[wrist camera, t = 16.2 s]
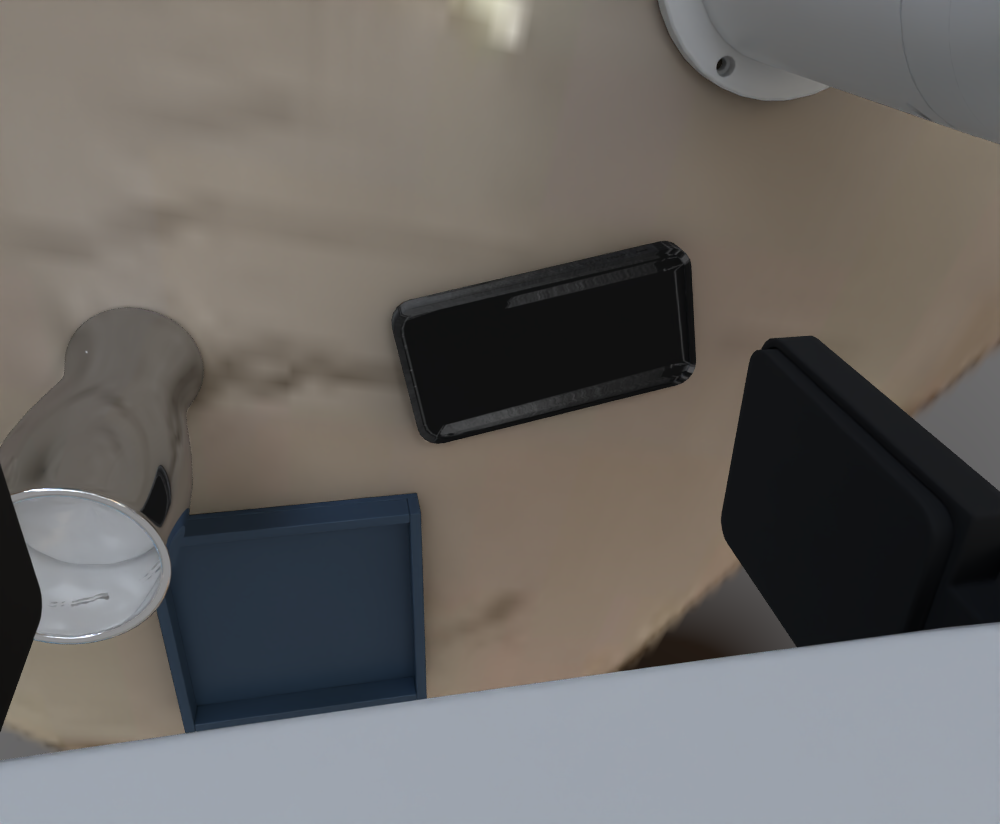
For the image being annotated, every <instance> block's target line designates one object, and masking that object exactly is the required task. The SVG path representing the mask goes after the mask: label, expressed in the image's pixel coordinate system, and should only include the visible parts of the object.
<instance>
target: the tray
mask: <svg viewBox="0 0 1000 824" xmlns="http://www.w3.org/2000/svg"><path fill="white" fill-rule="evenodd" d="M157 614H158V619H159V623H160V627H161V631H162V636H163V640H164V644H165V648H166V653H167V657H168V661H169V665H170V670H171V674H172V678H173V682H174V687H175V691H176V695H177V699H178V704H179V708H180V712H181V716H182V721H183V725H184V729H185V733H191V732H195V731H197V732H198V731H205V730H211V729H218V728H225V727H232V726H238V725H245V724H252V723H259V722H266V721H273V720H281V719H288V718H295V717H302V716H309V715H316V714H323V713H330V712H337V711H344V710H351V709H358V708H365V707H372V706H379V705H386V704H393V703H400V702H407V701H414V700H421V699H427V692H426V660H425V628H424V596H423V563H422V531H421V511H420V506H419V501H418V496H417V493H412V494H402V495H392V496H381V497H371V498H361V499H351V500H341V501H330V502H320V503H310V504H300V505H289V506H279V507H269V508H259V509H248V510H238V511H228V512H218V513H207V514H197V515H189V516H188V521H187V525H186V529H185V534H184V537H183V540H182V544H181V547H180V550H179V554H178V557H177V560H176V563H175V565H174V568H173V571H172V575H171V581H170V585H169V589H168V591H167V594H166V596H165V598H164V600H163V601H162V603H161V604H160V606H159V607H158V608H157Z"/></svg>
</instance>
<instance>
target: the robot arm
mask: <svg viewBox="0 0 1000 824" xmlns="http://www.w3.org/2000/svg"><path fill="white" fill-rule="evenodd" d="M658 3H659V8H660V12H661V14H662V17H663V19H664V22H665V24H666V27H667V30H668V32H669V35H670V37H671V39H672V40H673V42H674V43H675V45H676V46H677V48H678V49H679V51H680V52H681V54H682V55H683V57H684V58H685V60H686V61H687V62H688V63H690V64H691V65H692V66H693V67H694V68H695V69H696V70H697V71H698V72H699V73H700V74H701V75H702V76H703V77H705V78H706V79H708V80H709V81H711V82H713V83H714V84H716V85H718V86H719V87H721V88H723V89H725V90H728V91H730V92H733V93H735V94H737V95H740V96H743V97H748V98H753V99H758V100H763V101H780V100H792V99H796V98H801V97H805V96H810V95H813V94H816V93H818V92H820V91H822V90H825V89H827V88H829V87H833V88H836V89H839V90H842V91H845V92H848V93H851V94H854V95H856V96H859V97H862V98H865V99H868V100H871V101H874V102H877V103H880V104H882V105H885V106H888V107H891V108H894V109H897V110H900V111H903V112H906V113H909V114H911V115H914V116H917V117H920V118H923V119H926V120H929V121H932V122H935V123H938V124H940V125H943V126H946V127H949V128H952V129H955V130H958V131H961V132H964V133H967V134H969V135H972V136H975V137H979V138H982V139H985V140H988V141H991V142H994V143H997V144H1000V0H658ZM720 59H722V65H721V67H720V68H719V69H716V66H717V63H718V61H719V60H720ZM721 525H722V531H723V534H724V537H725V540H726V542H727V543H728V545H729V546H730V548H731V549H732V551H733V552H734V554H735V555H736V557H737V558H738V560H739V561H740V563H741V564H742V566H743V567H744V569H745V570H746V572H747V573H748V575H749V576H750V578H751V579H752V581H753V582H754V584H755V585H756V587H757V588H758V590H759V591H760V593H761V594H762V596H763V597H764V599H765V600H766V602H767V603H768V605H769V606H770V607H771V609H772V611H773V612H774V614H775V615H776V616H777V618H778V620H779V621H780V622H781V624H782V626H783V627H784V628H785V630H786V632H787V633H788V634H789V636H790V638H791V639H792V640H793V642H794V643H795V645H796V646H797V648H789V649H782V650H774V651H767V652H759V653H752V654H744V655H737V656H730V657H722V658H715V659H708V660H701V661H693V662H686V663H679V664H672V665H665V666H657V667H650V668H643V669H636V670H628V671H621V672H614V673H606V674H599V675H592V676H585V677H578V678H570V679H563V680H556V681H549V682H542V683H534V684H527V685H520V686H513V687H506V688H499V689H492V690H485V691H478V692H471V693H463V694H456V695H449V696H442V697H435V698H428V699H421V700H414V701H407V702H400V703H393V704H386V705H379V706H372V707H365V708H358V709H351V710H344V711H337V712H330V713H323V714H316V715H309V716H302V717H295V718H288V719H281V720H273V721H266V722H259V723H252V724H245V725H238V726H232V727H225V728H218V729H211V730H205V731H198V732H191V733H184V734H177V735H170V736H163V737H156V738H150V739H143V740H136V741H129V742H122V743H115V744H108V745H101V746H95V747H88V748H81V749H74V750H67V751H60V752H53V753H46V754H40V755H33V756H26V757H19V758H13V759H5V760H0V824H1000V491H998V490H997V489H996V488H995V487H994V486H992V485H991V484H990V483H989V482H988V481H987V480H985V479H984V478H983V477H982V476H980V475H979V474H978V473H977V472H976V471H974V470H973V469H972V468H971V467H970V466H969V465H967V464H966V463H965V462H964V461H963V460H962V459H960V458H959V457H958V456H957V455H956V454H954V453H953V452H952V451H951V450H950V449H948V448H947V447H946V446H945V445H944V444H942V443H941V442H940V441H939V440H938V439H937V438H935V437H934V436H933V435H932V434H931V433H929V432H928V431H927V430H926V429H925V428H923V427H922V426H921V425H920V424H919V423H917V422H916V421H915V420H914V419H913V418H912V417H910V416H909V415H908V414H907V413H906V412H904V411H903V410H902V409H901V408H900V407H898V406H897V405H896V404H895V403H894V402H892V401H891V400H890V399H889V398H888V397H886V396H885V395H884V394H883V393H882V392H881V391H879V390H878V389H877V388H876V387H875V386H873V385H872V384H871V383H870V382H869V381H867V380H866V379H865V378H864V377H863V376H861V375H860V374H859V373H858V372H857V371H856V370H854V369H853V368H852V367H851V366H850V365H848V364H847V363H846V362H845V361H844V360H842V359H841V358H840V357H839V356H838V355H836V354H835V353H834V352H833V351H832V350H830V349H829V348H828V347H827V346H826V345H825V344H823V343H822V342H821V341H820V340H819V339H817V338H816V337H814V336H800V337H786V338H772V339H769V340H767V341H766V342H765V344H764V345H763V347H762V349H761V350H756V351H755V352H754V353H753V354H752V356H751V358H750V362H749V366H748V372H747V377H746V383H745V388H744V394H743V399H742V405H741V410H740V416H739V421H738V427H737V432H736V437H735V443H734V448H733V454H732V459H731V465H730V470H729V476H728V481H727V487H726V492H725V498H724V503H723V509H722V516H721ZM41 614H42V596H41V591H40V587H39V583H38V580H37V577H36V574H35V571H34V568H33V565H32V561H31V558H30V555H29V552H28V549H27V546H26V543H25V539H24V536H23V533H22V530H21V527H20V524H19V521H18V517H17V514H16V511H15V508H14V505H13V502H12V499H11V495H10V492H9V489H8V486H7V483H6V480H5V477H4V473H3V470H2V467H1V464H0V731H1V729H2V726H3V723H4V720H5V717H6V715H7V712H8V709H9V706H10V704H11V701H12V698H13V695H14V692H15V690H16V687H17V684H18V681H19V678H20V676H21V673H22V670H23V667H24V665H25V662H26V659H27V656H28V653H29V651H30V648H31V645H32V642H33V640H34V637H35V634H36V631H37V628H38V626H39V623H40V619H41Z"/></svg>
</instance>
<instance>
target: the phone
mask: <svg viewBox="0 0 1000 824" xmlns="http://www.w3.org/2000/svg"><path fill="white" fill-rule="evenodd" d="M392 329H393V333H394V338H395V342H396V345H397V349H398V353H399V357H400V361H401V365H402V369H403V373H404V377H405V381H406V385H407V389H408V393H409V396H410V400H411V404H412V408H413V412H414V416H415V420H416V424H417V428H418V431H419V433H420V435H421V436H422V437H423V438H424V439H425V440H427V441H429V442H431V443H437V444H439V443H446V442H450V441H454V440H458V439H462V438H466V437H470V436H474V435H478V434H482V433H486V432H490V431H494V430H498V429H502V428H506V427H510V426H514V425H518V424H522V423H527V422H531V421H535V420H539V419H543V418H547V417H551V416H555V415H559V414H563V413H567V412H571V411H575V410H579V409H583V408H587V407H591V406H595V405H599V404H603V403H607V402H611V401H615V400H619V399H623V398H627V397H631V396H635V395H639V394H643V393H647V392H651V391H655V390H659V389H663V388H667V387H671V386H675V385H678V384H681V383H683V382H684V381H686V380H687V379H688V378H689V377H690V376H691V375H692V373H693V371H694V369H695V365H696V352H695V331H694V311H693V291H692V271H691V262H690V259H689V257H688V256H687V254H686V253H685V252H684V251H683V250H681V249H680V248H679V247H678V246H677V245H675V244H674V243H672V242H668V241H662V242H656V243H652V244H647V245H643V246H639V247H634V248H630V249H626V250H622V251H617V252H613V253H609V254H604V255H600V256H596V257H592V258H587V259H583V260H579V261H574V262H570V263H566V264H562V265H557V266H553V267H549V268H545V269H540V270H536V271H532V272H527V273H523V274H519V275H515V276H510V277H506V278H502V279H497V280H493V281H489V282H485V283H480V284H476V285H472V286H468V287H463V288H459V289H455V290H450V291H446V292H442V293H438V294H433V295H429V296H425V297H421V298H416V299H412V300H409V301H406V302H404V303H402V304H401V305H400V306H398V307H397V309H396V310H395V312H394V313H393V316H392Z"/></svg>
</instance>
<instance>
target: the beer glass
mask: <svg viewBox="0 0 1000 824" xmlns="http://www.w3.org/2000/svg"><path fill="white" fill-rule="evenodd" d="M203 377H204V366H203V360H202V356H201V353H200V351H199V348H198V346H197V345H196V343H195V341H194V340H193V338H192V337H191V336H190V335H189V333H188V332H187V331H186V330H185V329H184V328H183V327H181V326H180V325H179V324H178V323H176V322H175V321H173V320H172V319H170V318H168V317H166V316H164V315H162V314H160V313H157V312H154V311H151V310H147V309H142V308H132V307H125V308H115V309H111V310H107V311H104V312H101V313H99V314H96V315H94V316H93V317H91V318H89V319H88V320H87V321H85V322H84V323H83V324H82V325H81V326H80V327H79V328H78V329H77V330H76V331H75V333H74V334H73V336H72V337H71V339H70V341H69V344H68V346H67V349H66V353H65V363H64V375H63V377H62V379H61V380H60V381H59V382H58V383H57V384H56V385H55V386H54V387H53V388H51V389H50V390H49V391H48V392H47V393H46V394H45V395H44V396H43V397H42V398H41V399H40V400H39V401H38V402H37V403H36V404H35V405H34V406H33V407H32V408H30V409H29V410H28V411H27V413H26V414H25V415H24V416H23V417H22V418H21V419H20V421H19V422H18V423H17V424H16V425H15V426H14V428H13V429H12V430H11V431H10V432H9V434H8V435H7V437H6V438H5V440H4V441H3V443H2V444H1V446H0V464H1V467H2V470H3V473H4V477H5V480H6V483H7V486H8V489H9V492H10V495H11V499H12V502H13V505H14V508H15V511H16V514H17V517H18V521H19V524H20V527H21V530H22V533H23V536H24V539H25V543H26V546H27V549H28V552H29V555H30V558H31V561H32V565H33V568H34V571H35V574H36V577H37V580H38V583H39V587H40V591H41V596H42V614H41V619H40V623H39V626H38V628H37V631H36V634H35V637H34V640H36V641H41V642H47V643H55V644H84V643H92V642H97V641H102V640H106V639H109V638H113V637H116V636H118V635H121V634H123V633H125V632H127V631H129V630H131V629H133V628H135V627H137V626H138V625H140V624H141V623H142V622H144V621H145V620H146V619H148V618H149V617H150V616H151V615H152V614H153V613H154V612H155V611H156V610H157V608H158V607H159V606H160V604H161V603H162V601H163V600H164V598H165V596H166V594H167V591H168V589H169V585H170V581H171V575H172V571H173V568H174V565H175V563H176V560H177V557H178V554H179V550H180V547H181V544H182V540H183V537H184V534H185V529H186V525H187V521H188V516H189V512H190V505H191V496H192V488H193V469H192V453H191V446H190V438H189V432H188V425H187V416H186V415H187V410H188V408H189V407H190V406H191V404H192V403H193V401H194V400H195V398H196V397H197V395H198V393H199V391H200V388H201V386H202V382H203Z"/></svg>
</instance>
